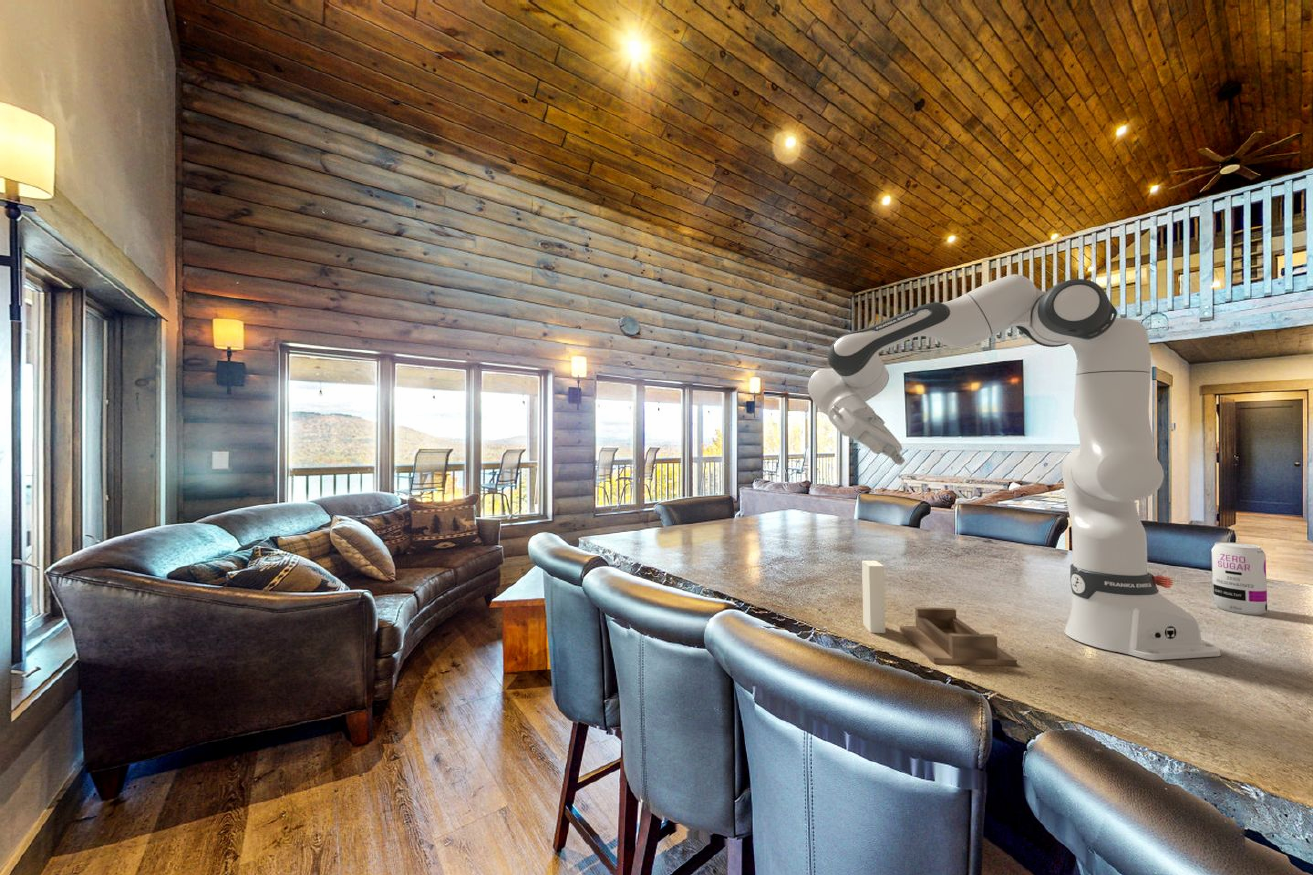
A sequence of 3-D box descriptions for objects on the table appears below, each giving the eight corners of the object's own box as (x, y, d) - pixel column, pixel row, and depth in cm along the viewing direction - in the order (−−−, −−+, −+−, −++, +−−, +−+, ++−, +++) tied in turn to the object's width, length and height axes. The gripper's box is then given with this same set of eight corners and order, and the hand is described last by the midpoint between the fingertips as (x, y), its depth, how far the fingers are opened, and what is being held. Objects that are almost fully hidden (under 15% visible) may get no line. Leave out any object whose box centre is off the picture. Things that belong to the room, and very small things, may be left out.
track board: (969, 632, 105) (969, 608, 105) (1016, 665, 89) (1016, 637, 89) (900, 630, 106) (899, 606, 106) (934, 663, 90) (933, 635, 90)
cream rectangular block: (877, 624, 110) (875, 560, 110) (885, 633, 105) (883, 566, 105) (863, 624, 110) (861, 560, 111) (870, 632, 105) (869, 565, 106)
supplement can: (1257, 607, 117) (1255, 543, 117) (1275, 618, 110) (1272, 550, 111) (1207, 602, 122) (1205, 540, 122) (1221, 612, 115) (1219, 546, 115)
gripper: (838, 393, 110) (876, 433, 101) (885, 420, 122) (923, 458, 112) (818, 414, 113) (853, 455, 103) (866, 439, 125) (902, 477, 115)
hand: (890, 457), depth 108 cm, fingers open, 8 cm apart
